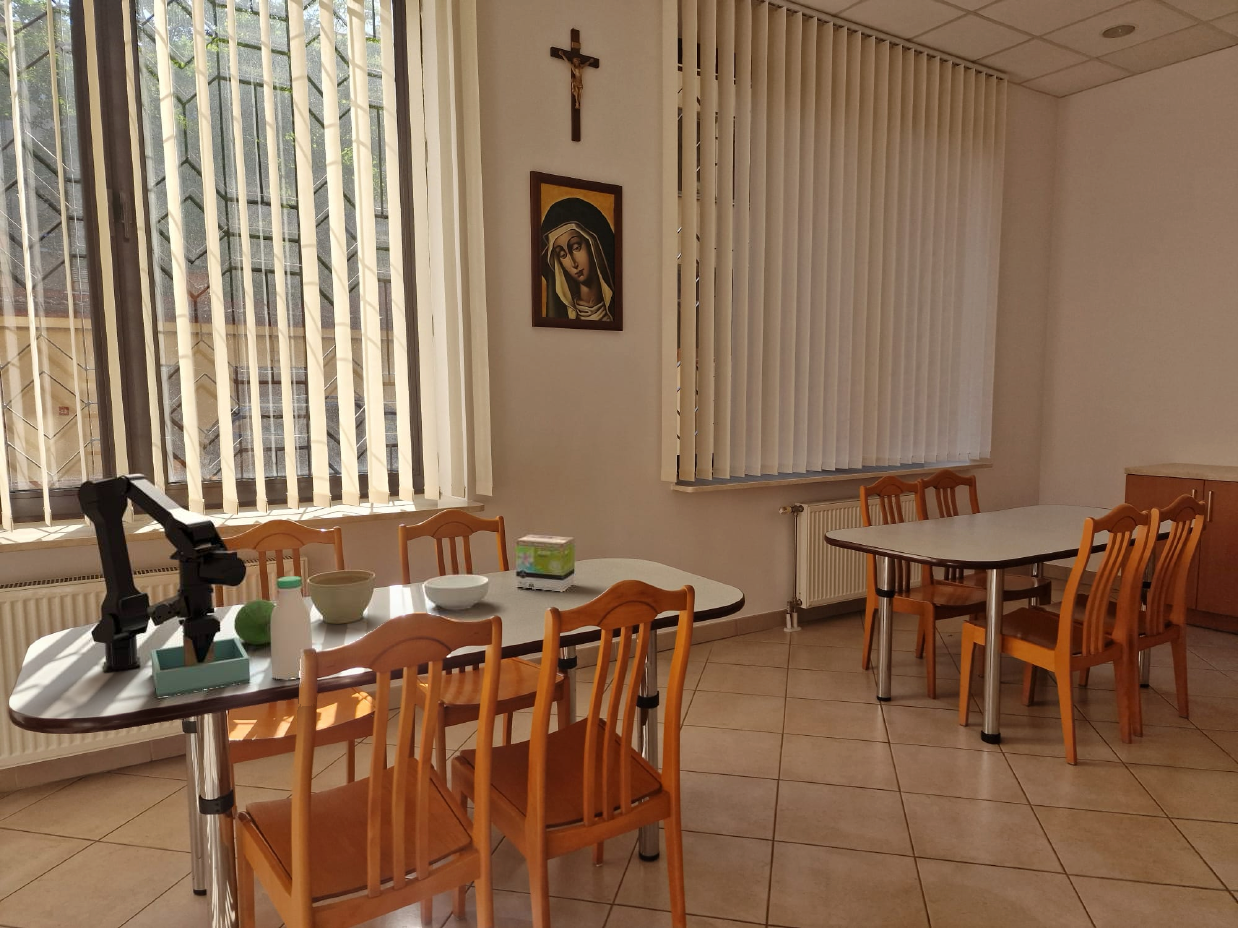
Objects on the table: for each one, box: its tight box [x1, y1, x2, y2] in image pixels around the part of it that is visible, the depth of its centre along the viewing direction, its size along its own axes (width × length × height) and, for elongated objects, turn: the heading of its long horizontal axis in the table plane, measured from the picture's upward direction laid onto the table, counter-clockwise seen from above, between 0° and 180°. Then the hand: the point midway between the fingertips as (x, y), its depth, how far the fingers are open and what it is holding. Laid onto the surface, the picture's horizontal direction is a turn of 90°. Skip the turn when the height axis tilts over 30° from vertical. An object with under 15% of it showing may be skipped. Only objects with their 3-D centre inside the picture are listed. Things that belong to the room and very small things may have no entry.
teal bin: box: [150, 636, 251, 698], centre depth 162 cm, size 16×16×5 cm
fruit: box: [233, 599, 276, 646], centre depth 183 cm, size 15×10×10 cm, turn 35°
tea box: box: [515, 533, 575, 590], centre depth 237 cm, size 15×10×15 cm
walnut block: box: [182, 634, 215, 667], centre depth 162 cm, size 5×5×6 cm
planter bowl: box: [307, 569, 376, 625], centre depth 204 cm, size 16×16×11 cm
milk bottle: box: [270, 575, 313, 680], centre depth 163 cm, size 8×8×20 cm
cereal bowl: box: [423, 574, 490, 611], centre depth 217 cm, size 17×17×7 cm
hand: (199, 658), depth 162 cm, fingers closed on walnut block, 5 cm apart
